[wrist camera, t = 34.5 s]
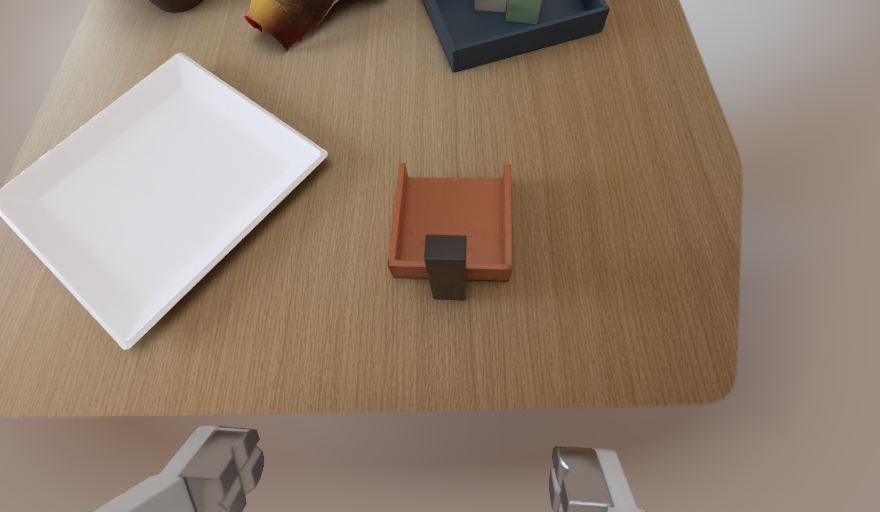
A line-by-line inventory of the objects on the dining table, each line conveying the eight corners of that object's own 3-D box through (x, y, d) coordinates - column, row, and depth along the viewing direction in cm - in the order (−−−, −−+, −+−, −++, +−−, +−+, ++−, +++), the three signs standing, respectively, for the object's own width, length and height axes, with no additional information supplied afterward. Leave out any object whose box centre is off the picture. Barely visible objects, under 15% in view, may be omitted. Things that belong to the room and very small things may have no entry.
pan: (508, 302, 38) (523, 262, 28) (391, 297, 38) (368, 257, 29) (507, 182, 42) (519, 114, 33) (403, 180, 43) (387, 114, 34)
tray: (555, -38, 55) (560, -63, 52) (602, 31, 50) (610, 8, 47) (420, -3, 54) (418, -26, 51) (453, 72, 49) (452, 51, 46)
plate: (335, 163, 45) (329, 152, 43) (141, 355, 38) (123, 351, 36) (188, 63, 52) (178, 49, 50) (3, 208, 45) (-18, 198, 43)
